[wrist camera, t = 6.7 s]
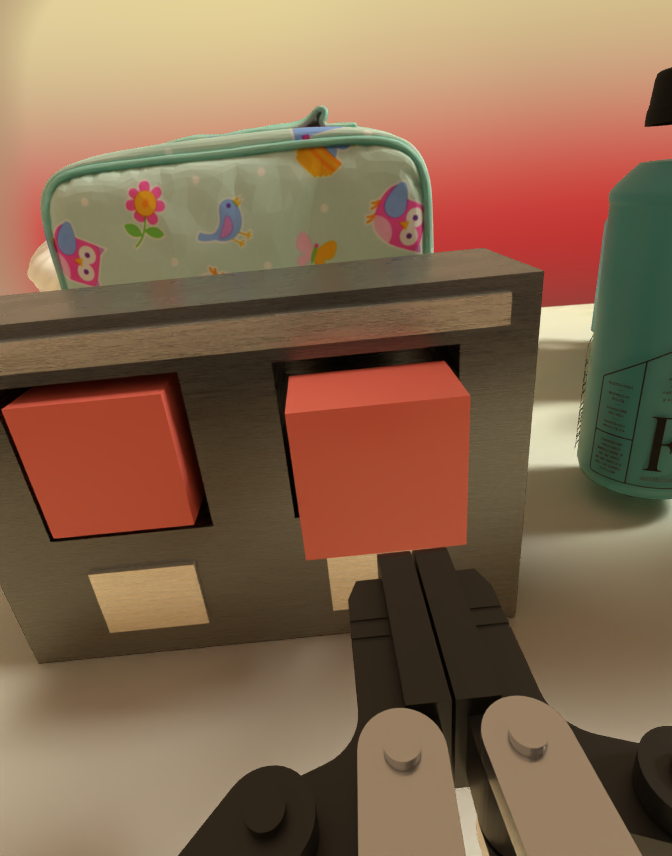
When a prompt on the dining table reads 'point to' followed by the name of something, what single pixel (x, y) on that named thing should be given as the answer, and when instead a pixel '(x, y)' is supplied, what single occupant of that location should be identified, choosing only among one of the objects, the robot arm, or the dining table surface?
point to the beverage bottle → (634, 332)
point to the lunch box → (238, 204)
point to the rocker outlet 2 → (379, 458)
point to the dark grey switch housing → (258, 440)
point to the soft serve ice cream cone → (43, 270)
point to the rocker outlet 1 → (109, 454)
